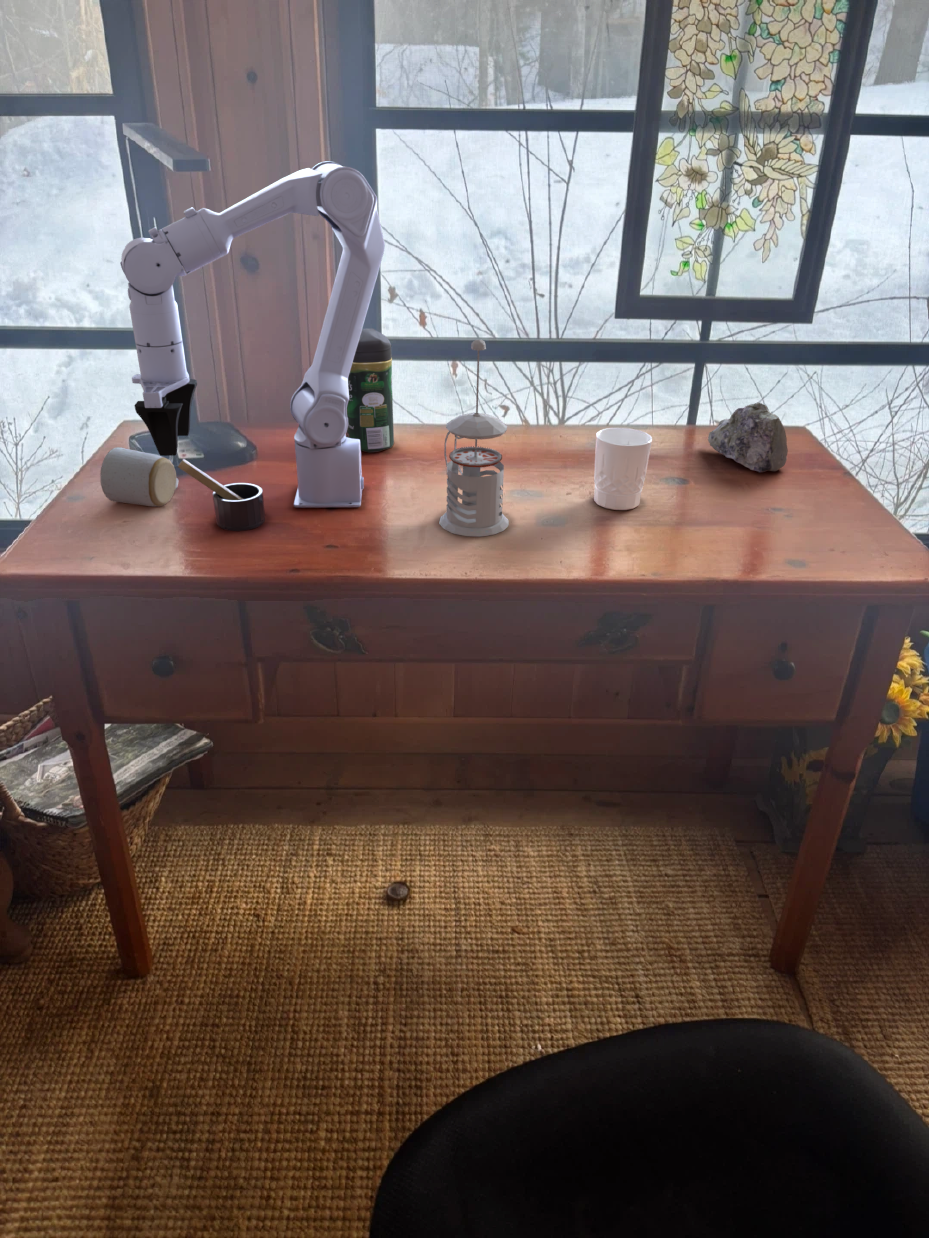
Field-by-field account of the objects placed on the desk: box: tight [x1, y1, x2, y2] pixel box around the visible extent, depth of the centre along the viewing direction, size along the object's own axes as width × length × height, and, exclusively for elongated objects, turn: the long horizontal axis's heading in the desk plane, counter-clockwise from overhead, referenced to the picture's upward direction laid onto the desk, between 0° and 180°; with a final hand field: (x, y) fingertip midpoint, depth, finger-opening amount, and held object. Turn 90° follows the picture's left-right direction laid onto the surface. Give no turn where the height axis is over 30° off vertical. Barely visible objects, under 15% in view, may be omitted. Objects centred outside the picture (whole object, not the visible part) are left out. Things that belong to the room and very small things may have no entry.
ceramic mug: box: [99, 446, 179, 507], centre depth 130 cm, size 11×8×8 cm
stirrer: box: [177, 458, 244, 500], centre depth 123 cm, size 10×1×8 cm, turn 93°
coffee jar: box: [346, 328, 395, 453], centre depth 149 cm, size 10×8×19 cm
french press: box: [438, 338, 510, 538], centre depth 122 cm, size 10×12×25 cm
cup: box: [212, 482, 266, 532], centre depth 125 cm, size 7×7×4 cm
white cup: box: [593, 426, 653, 511], centre depth 132 cm, size 8×8×10 cm
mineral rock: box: [707, 401, 789, 473], centre depth 148 cm, size 13×11×10 cm
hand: (174, 444), depth 122 cm, fingers open, 7 cm apart
